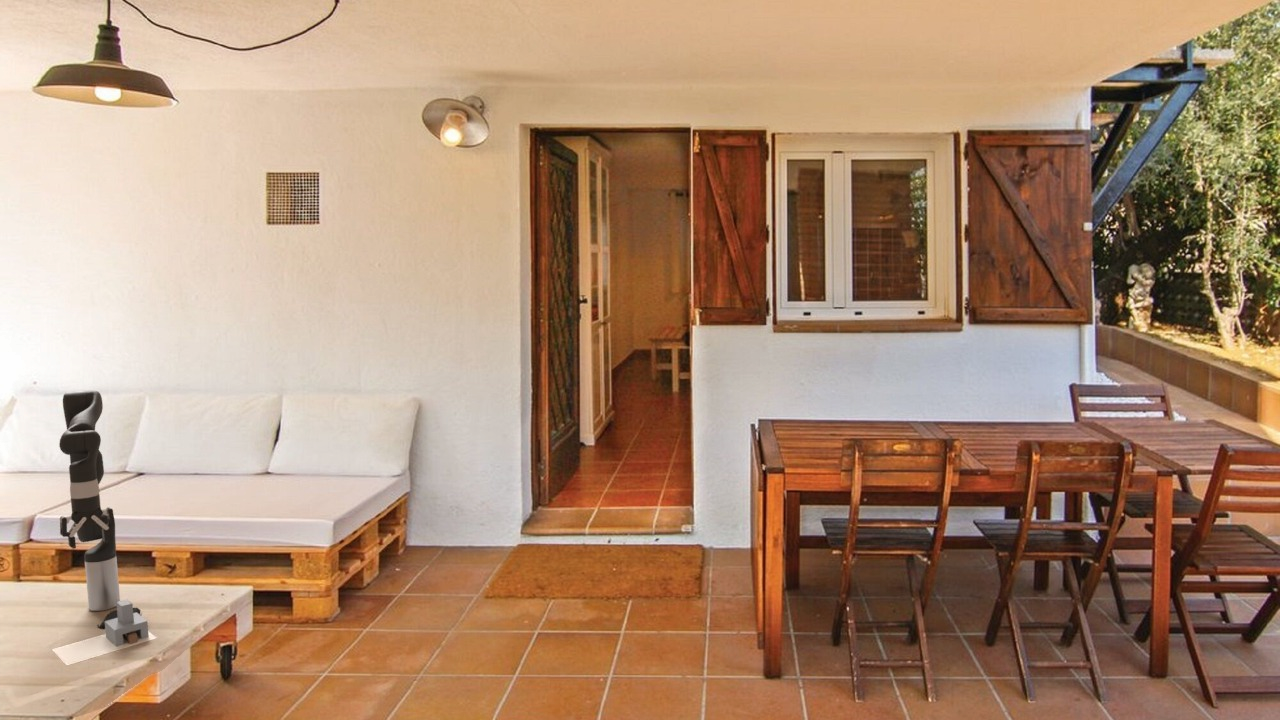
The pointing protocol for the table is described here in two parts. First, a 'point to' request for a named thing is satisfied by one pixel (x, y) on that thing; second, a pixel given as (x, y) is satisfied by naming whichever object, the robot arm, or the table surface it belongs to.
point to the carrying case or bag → (114, 615)
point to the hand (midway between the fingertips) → (89, 544)
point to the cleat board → (96, 647)
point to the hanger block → (125, 623)
